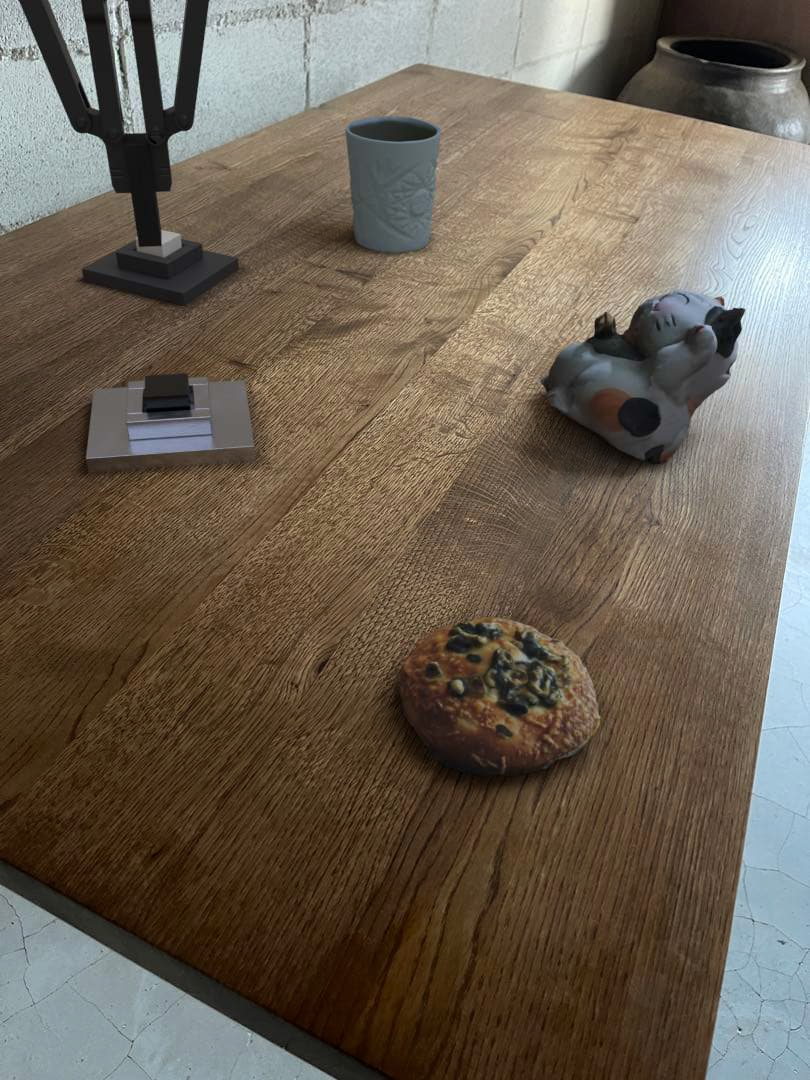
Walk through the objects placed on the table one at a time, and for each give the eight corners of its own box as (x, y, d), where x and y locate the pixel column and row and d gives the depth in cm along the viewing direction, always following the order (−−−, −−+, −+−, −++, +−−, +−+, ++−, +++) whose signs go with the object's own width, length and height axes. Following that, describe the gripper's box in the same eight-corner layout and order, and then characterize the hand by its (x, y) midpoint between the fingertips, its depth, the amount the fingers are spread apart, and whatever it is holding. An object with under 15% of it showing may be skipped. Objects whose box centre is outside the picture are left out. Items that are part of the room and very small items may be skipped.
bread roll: (380, 766, 47) (389, 692, 45) (410, 638, 57) (420, 571, 54) (594, 806, 47) (616, 733, 44) (589, 670, 56) (607, 603, 54)
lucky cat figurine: (541, 373, 81) (636, 231, 76) (655, 447, 81) (758, 312, 76) (524, 411, 68) (638, 242, 62) (660, 500, 68) (787, 340, 62)
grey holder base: (88, 474, 67) (81, 439, 65) (96, 404, 74) (90, 371, 73) (255, 461, 69) (252, 427, 67) (246, 394, 77) (243, 362, 75)
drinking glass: (435, 257, 101) (442, 143, 93) (343, 254, 101) (343, 139, 93) (432, 224, 109) (439, 116, 101) (347, 221, 109) (347, 112, 101)
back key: (136, 253, 92) (134, 238, 91) (155, 242, 94) (154, 227, 93) (163, 259, 91) (161, 244, 90) (182, 248, 93) (180, 233, 92)
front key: (147, 414, 69) (144, 396, 68) (147, 393, 71) (144, 375, 70) (190, 411, 69) (188, 393, 68) (189, 390, 72) (187, 372, 71)
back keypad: (83, 281, 92) (78, 252, 91) (143, 248, 100) (139, 221, 98) (184, 306, 89) (181, 277, 87) (239, 270, 96) (237, 242, 94)
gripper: (211, -200, 52) (242, 216, 67) (-34, -211, 50) (55, 223, 65) (217, -199, 46) (250, 255, 61) (-58, -211, 44) (45, 265, 59)
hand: (150, 238), depth 63 cm, fingers closed
